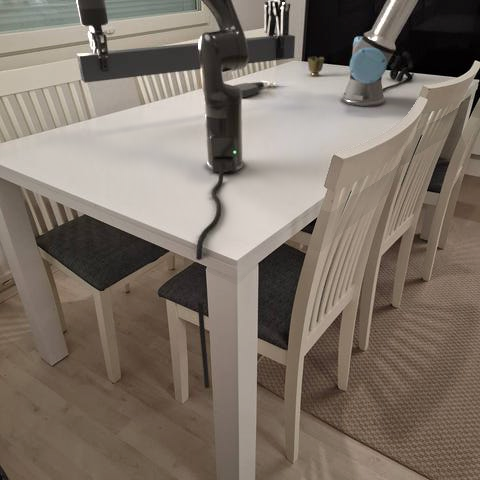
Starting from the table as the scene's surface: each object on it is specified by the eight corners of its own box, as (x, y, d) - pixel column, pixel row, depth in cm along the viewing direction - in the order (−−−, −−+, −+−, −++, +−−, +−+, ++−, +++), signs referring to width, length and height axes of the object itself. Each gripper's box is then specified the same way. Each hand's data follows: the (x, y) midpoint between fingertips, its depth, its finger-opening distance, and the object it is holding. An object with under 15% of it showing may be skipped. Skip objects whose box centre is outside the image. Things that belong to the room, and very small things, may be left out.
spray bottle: (223, 95, 183) (259, 84, 199) (243, 99, 177) (279, 87, 193) (222, 87, 181) (259, 77, 197) (243, 91, 175) (279, 80, 191)
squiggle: (400, 92, 202) (376, 71, 205) (417, 76, 202) (392, 56, 205) (405, 81, 191) (380, 59, 194) (423, 64, 191) (397, 42, 194)
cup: (304, 76, 210) (305, 58, 205) (310, 73, 215) (311, 55, 211) (319, 77, 207) (321, 59, 202) (324, 74, 212) (326, 56, 208)
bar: (84, 82, 132) (79, 56, 128) (81, 79, 135) (76, 54, 131) (294, 58, 160) (295, 35, 156) (287, 56, 163) (287, 34, 159)
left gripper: (111, 7, 122) (121, 72, 131) (99, 4, 132) (109, 64, 141) (82, 8, 119) (95, 75, 128) (73, 5, 130) (85, 67, 139)
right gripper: (301, -19, 141) (298, 59, 153) (272, -20, 155) (272, 52, 167) (281, -18, 138) (279, 61, 151) (253, -19, 152) (254, 54, 164)
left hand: (103, 69), depth 135 cm, fingers closed on bar, 4 cm apart
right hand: (275, 56), depth 159 cm, fingers closed on bar, 5 cm apart
